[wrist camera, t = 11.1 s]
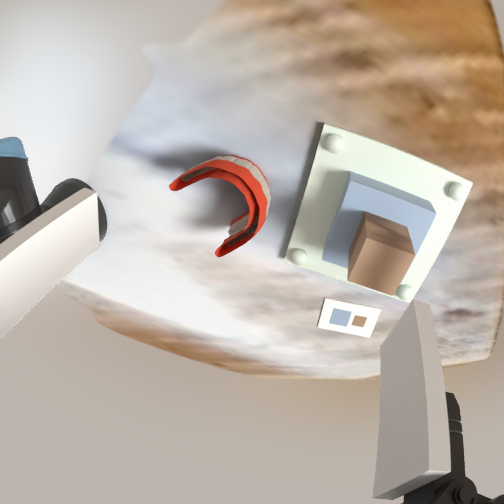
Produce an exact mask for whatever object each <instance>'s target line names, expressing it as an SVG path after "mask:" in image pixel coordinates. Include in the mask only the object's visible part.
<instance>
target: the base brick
mask: <svg viewBox="0 0 504 504" xmlns="http://www.w3.org/2000/svg"><path fill="white" fill-rule="evenodd" d="M365 211H366V212H369V213H372V214H375V215H377V216H380V217H383V218H386V219H388V220H391V221H394V222H396V223H399V224H402V225H404V226H407V228H408V231H409V235H410V238H411V241H412V245H413V248H414V252H415V256H416V255H417V253H418V251H419V249H420V247H421V245H422V243H423V241H424V239H425V237H426V235H427V233H428V231H429V229H430V227H431V225H432V223H433V220H434V218H435V216H436V214H437V213H436V211H435V209H434V208H433V206H432V204H431V202H430V201H428V200H425V199H423V198H421V197H418V196H416V195H413V194H411V193H408V192H406V191H403V190H401V189H398V188H396V187H393V186H390V185H388V184H385V183H382V182H380V181H377V180H374V179H371V178H369V177H366V176H363V175H360V174H357V173H355V172H352V171H350V174H349V177H348V180H347V183H346V186H345V189H344V191H343V194H342V197H341V200H340V203H339V206H338V209H337V211H336V214H335V217H334V220H333V223H332V225H331V228H330V231H329V234H328V236H327V239H326V242H325V244H324V249H323V255H322V260H323V261H326V262H329V263H332V264H335V265H338V266H341V267H344V268H347V269H348V258H349V248H350V246H351V244H352V241H353V239H354V236H355V234H356V232H357V229H358V227H359V224H360V222H361V219H362V217H363V214H364V212H365ZM414 258H415V257H414ZM413 260H414V259H413ZM412 262H413V261H412ZM411 264H412V263H411ZM410 266H411V265H410ZM409 268H410V267H409ZM407 271H408V270H407ZM406 273H407V272H406ZM405 275H406V274H405ZM404 277H405V276H404ZM403 279H404V278H403ZM403 279H402V280H403ZM401 282H402V281H401ZM400 284H401V283H400ZM399 286H400V285H399Z"/></svg>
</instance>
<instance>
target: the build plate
mask: <svg viewBox="0 0 504 504" xmlns="http://www.w3.org/2000/svg"><path fill="white" fill-rule="evenodd" d="M350 171H352V172H355V173H357V174H360V175H363V176H366V177H369V178H371V179H374V180H377V181H380V182H382V183H385V184H388V185H390V186H393V187H396V188H398V189H401V190H403V191H406V192H408V193H411V194H413V195H416V196H418V197H421V198H423V199H425V200H428V201H430V202H431V204H432V206H433V208H434V209H435V211H436V213H437V214H436V216H435V218H434V220H433V223H432V225H431V227H430V229H429V231H428V233H427V235H426V237H425V239H424V241H423V243H422V245H421V247H420V249H419V251H418V253H417V255H416V256H415V258H414V260H413V262H412V264H411V266H410V268H409V269H408V271H407V273H406V275H405V277H404V279H403V280H402V282H401V284H400V286H398V288H397V290H396V292H395V293H394V295H393V296H391V295H388V294H385V293H382V292H379V291H376V290H373V289H370V288H367V287H364V286H361V285H358V284H355V283H352V282H349V281H347V276H348V269H347V268H344V267H341V266H338V265H335V264H332V263H329V262H326V261H323V260H322V255H323V249H324V244H325V242H326V239H327V236H328V234H329V231H330V228H331V225H332V223H333V220H334V217H335V214H336V211H337V209H338V206H339V203H340V200H341V197H342V194H343V191H344V189H345V186H346V183H347V180H348V177H349V174H350ZM472 184H473V183H472V182H471V181H470V180H469V179H467V178H465V177H463V176H460V175H458V174H456V173H454V172H452V171H450V170H448V169H446V168H443V167H441V166H439V165H437V164H435V163H432V162H430V161H428V160H425V159H423V158H421V157H418V156H416V155H414V154H411V153H409V152H406V151H404V150H401V149H399V148H396V147H394V146H391V145H388V144H386V143H383V142H380V141H378V140H375V139H372V138H369V137H367V136H364V135H361V134H358V133H355V132H352V131H349V130H346V129H343V128H340V127H337V126H334V125H331V124H327V123H324V127H323V130H322V134H321V137H320V141H319V144H318V148H317V152H316V155H315V159H314V162H313V166H312V169H311V173H310V176H309V179H308V183H307V186H306V190H305V193H304V197H303V200H302V203H301V207H300V210H299V213H298V217H297V220H296V223H295V227H294V230H293V233H292V236H291V240H290V243H289V246H288V249H287V253H286V256H285V259H284V262H287V263H290V264H293V265H296V266H299V267H302V268H305V269H308V270H311V271H314V272H317V273H320V274H323V275H326V276H329V277H332V278H335V279H338V280H341V281H344V282H347V283H350V284H353V285H357V286H360V287H363V288H366V289H369V290H372V291H375V292H378V293H381V294H384V295H387V296H390V297H393V298H396V299H399V300H402V301H405V302H408V303H410V302H411V300H412V299H413V297H414V295H415V294H416V292H417V291H418V289H419V287H420V286H421V284H422V282H423V281H424V279H425V277H426V275H427V274H428V272H429V270H430V268H431V267H432V265H433V263H434V261H435V260H436V258H437V256H438V254H439V252H440V250H441V249H442V247H443V245H444V243H445V241H446V239H447V237H448V235H449V233H450V231H451V229H452V227H453V225H454V223H455V221H456V219H457V217H458V215H459V213H460V211H461V209H462V207H463V204H464V202H465V200H466V198H467V196H468V193H469V191H470V189H471V186H472Z"/></svg>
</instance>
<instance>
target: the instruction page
mask: <svg viewBox="0 0 504 504" xmlns="http://www.w3.org/2000/svg"><path fill="white" fill-rule="evenodd" d="M380 312H381V309H379V308H374V307H368V306H363V305H358V304H353V303H348V302H343V301H338V300H333V299H329V298H325V301H324V305H323V309H322V313H321V316H320V320H319V324H318V328H323V329H328V330H333V331H338V332H343V333H348V334H353V335H359V336H364V337H369V338H370V335H371V333H372V331H373V329H374V326H375V324H376V321H377V319H378V317H379V314H380Z"/></svg>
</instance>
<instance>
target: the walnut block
mask: <svg viewBox="0 0 504 504" xmlns="http://www.w3.org/2000/svg"><path fill="white" fill-rule="evenodd" d="M414 257H415V252H414V248H413V245H412V241H411V238H410V235H409V231H408V228H407V226H404V225H402V224H399V223H396V222H394V221H391V220H388V219H386V218H383V217H380V216H377V215H375V214H372V213H369V212H366V211H365V212H364V214H363V217H362V219H361V222H360V224H359V227H358V229H357V232H356V234H355V236H354V239H353V241H352V244H351V246H350V248H349V258H348V276H347V281H349V282H352V283H355V284H358V285H361V286H364V287H367V288H370V289H373V290H376V291H379V292H382V293H385V294H388V295H391V296H393V295H394V293H395V292H396V290H397V288H398V286H399V285H400V283H401V281H402V279H403V278H404V276H405V274H406V272H407V270H408V269H409V267H410V265H411V263H412V261H413V259H414Z"/></svg>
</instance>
